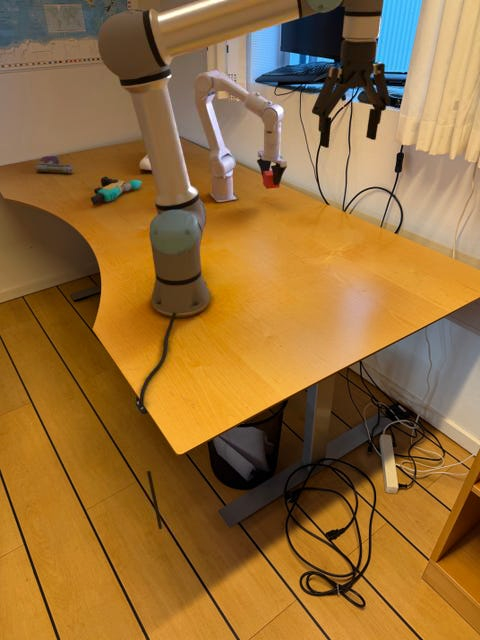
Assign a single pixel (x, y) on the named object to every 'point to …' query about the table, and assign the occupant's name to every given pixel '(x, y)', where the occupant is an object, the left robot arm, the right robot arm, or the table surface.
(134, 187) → the toy gun
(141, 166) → the sneaker
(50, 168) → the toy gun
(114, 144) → the table surface
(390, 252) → the table surface
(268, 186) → the block
